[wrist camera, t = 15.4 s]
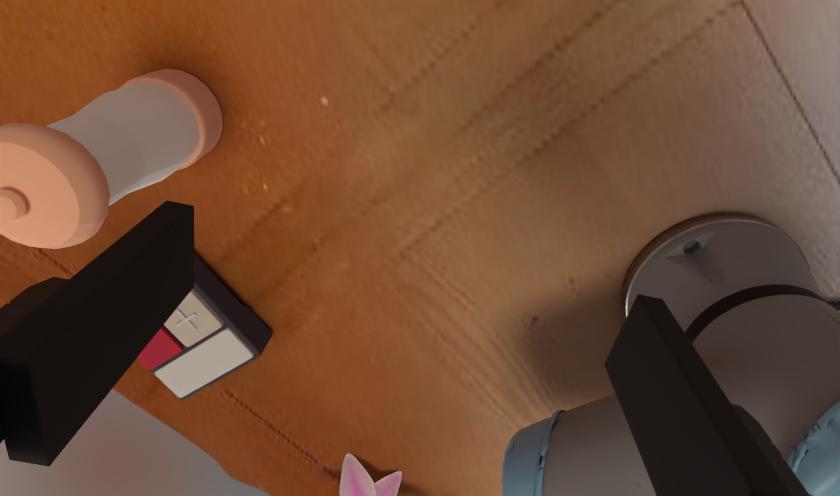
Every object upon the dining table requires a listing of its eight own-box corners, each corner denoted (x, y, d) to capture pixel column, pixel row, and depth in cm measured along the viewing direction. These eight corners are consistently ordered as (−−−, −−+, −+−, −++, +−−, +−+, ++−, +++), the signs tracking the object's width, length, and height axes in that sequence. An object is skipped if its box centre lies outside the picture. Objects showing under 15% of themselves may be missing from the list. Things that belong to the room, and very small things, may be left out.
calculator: (142, 235, 44) (259, 361, 49) (168, 216, 48) (274, 334, 52) (60, 295, 47) (177, 407, 52) (90, 272, 51) (197, 378, 56)
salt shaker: (134, 146, 44) (-61, 254, 27) (132, 58, 41) (-93, 118, 24) (221, 166, 45) (81, 285, 28) (225, 80, 41) (70, 156, 24)
